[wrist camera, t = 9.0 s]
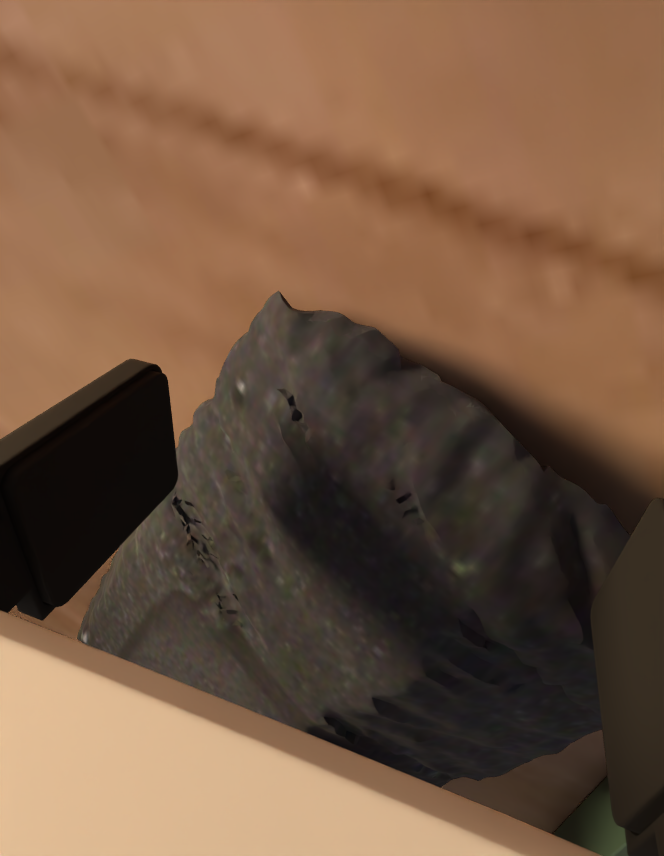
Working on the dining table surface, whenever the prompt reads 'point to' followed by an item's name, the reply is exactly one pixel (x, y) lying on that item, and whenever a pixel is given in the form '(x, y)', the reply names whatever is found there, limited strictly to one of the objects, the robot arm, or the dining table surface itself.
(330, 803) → the robot arm
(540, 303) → the dining table surface
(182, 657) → the dark slate chunk
